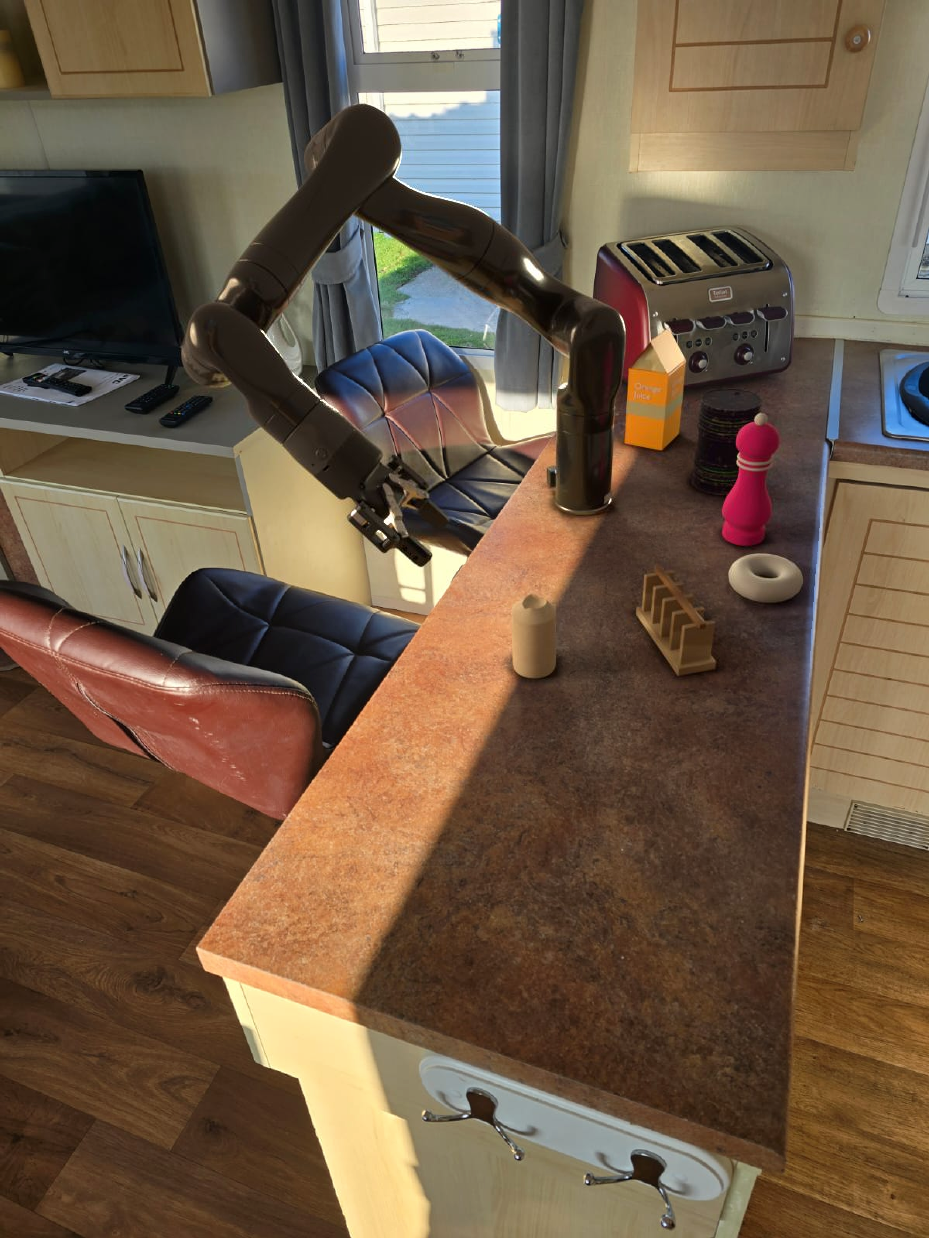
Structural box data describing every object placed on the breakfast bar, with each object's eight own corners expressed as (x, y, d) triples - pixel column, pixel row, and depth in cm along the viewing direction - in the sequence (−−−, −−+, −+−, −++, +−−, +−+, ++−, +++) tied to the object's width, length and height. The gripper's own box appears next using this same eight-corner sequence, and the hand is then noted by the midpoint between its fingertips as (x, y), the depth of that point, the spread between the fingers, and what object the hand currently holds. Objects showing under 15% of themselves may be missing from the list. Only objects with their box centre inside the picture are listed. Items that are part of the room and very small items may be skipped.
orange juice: (679, 433, 165) (689, 329, 154) (662, 450, 159) (671, 343, 148) (641, 426, 169) (649, 324, 157) (623, 443, 163) (629, 338, 151)
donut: (799, 613, 115) (801, 573, 123) (804, 592, 113) (806, 553, 121) (723, 602, 118) (730, 564, 126) (726, 582, 116) (733, 544, 124)
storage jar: (739, 499, 142) (752, 414, 133) (682, 488, 147) (691, 404, 138) (757, 476, 149) (770, 393, 140) (702, 465, 153) (712, 384, 145)
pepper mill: (769, 549, 129) (791, 424, 117) (719, 546, 130) (736, 422, 119) (765, 525, 135) (786, 404, 123) (718, 523, 136) (734, 403, 124)
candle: (510, 654, 111) (508, 590, 105) (552, 650, 111) (552, 586, 106) (515, 680, 107) (514, 615, 101) (559, 676, 107) (560, 611, 101)
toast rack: (635, 614, 117) (639, 567, 113) (670, 608, 118) (674, 562, 113) (677, 676, 106) (683, 627, 101) (715, 669, 107) (722, 620, 102)
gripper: (335, 444, 105) (431, 532, 109) (291, 497, 94) (400, 592, 98) (371, 405, 101) (470, 497, 105) (329, 455, 90) (442, 556, 94)
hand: (436, 543), depth 102 cm, fingers open, 8 cm apart
